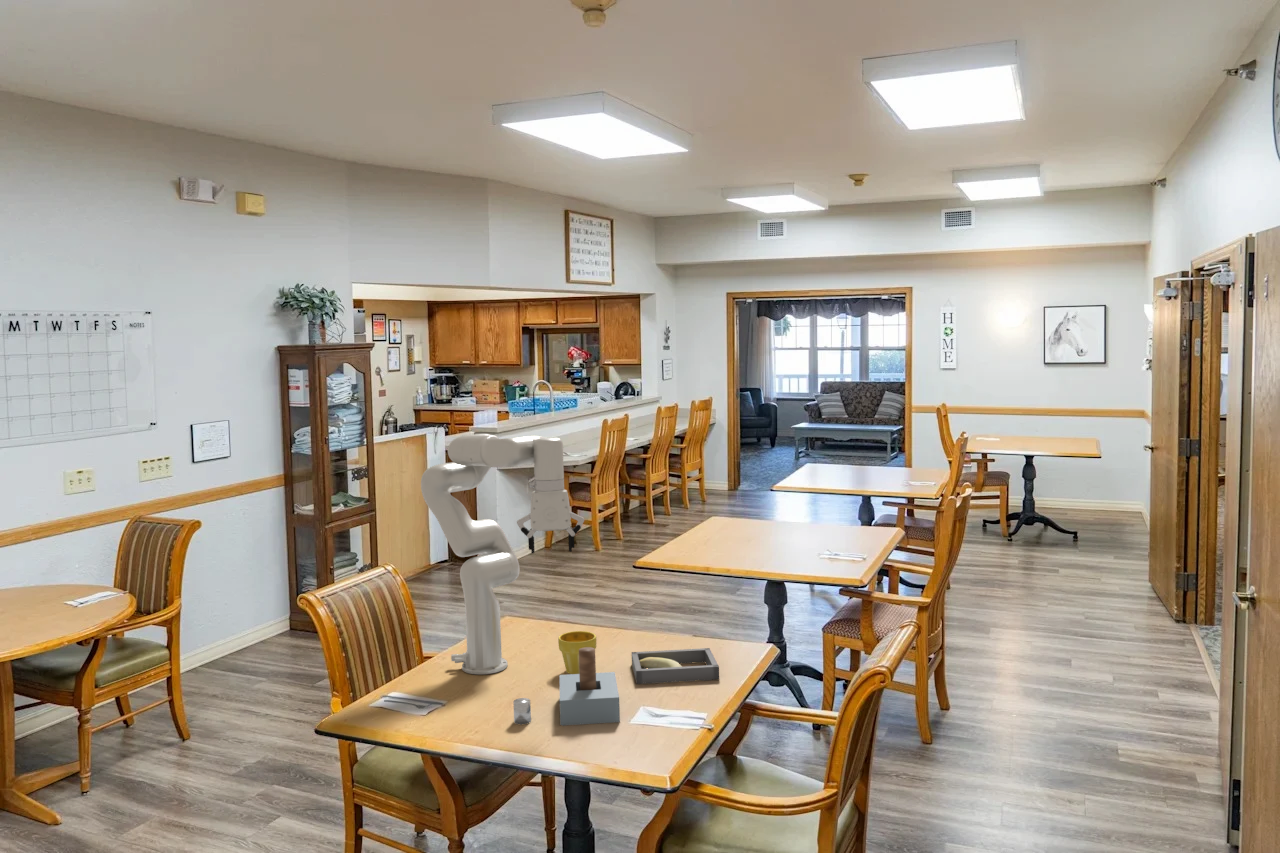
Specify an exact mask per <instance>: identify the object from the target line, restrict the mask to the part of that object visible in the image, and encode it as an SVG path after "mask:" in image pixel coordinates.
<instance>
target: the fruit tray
mask: <svg viewBox="0 0 1280 853" xmlns="http://www.w3.org/2000/svg"><path fill="white" fill-rule="evenodd" d="M647 657H659V658H666V659H671V660H674V661H676V662H678V663H682V664H693V663H692V662H700V663H705V662H706V663H705V664H707V665H693V666H691V665H687V666H682V667H668V668H650V669H646V668H642V667H641V666H640V662H639V660H641V659H644V658H647ZM631 667H632V670H633V671H632V672H633V674H634V680H635V683H636V685H646V684H647V683H648V684H665V683H664V682H666V683H680V682H679V681H684V682H696V681H695V680H702V681H716V680H715V679H719V680H720V666H719V664H718V662H717V660H716V658H715V656H714V654H713V653H712V650H711V648H710V647H707V648H705V647H704V648H684V649H668V650H650V651H631ZM712 679H713V680H712ZM648 684H647V685H648Z"/></svg>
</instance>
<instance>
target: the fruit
mask: <svg viewBox="0 0 1280 853" xmlns="http://www.w3.org/2000/svg"><path fill="white" fill-rule="evenodd" d="M639 662H640V666H641V668H642V669H646V668H648V669H650V668H668V667H683V666H682V665H681V664H679V663H678V662H676V661H674V660H671V659H666V658H659V657H647V658H644V659H641V660H639Z"/></svg>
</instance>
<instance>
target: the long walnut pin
mask: <svg viewBox="0 0 1280 853" xmlns="http://www.w3.org/2000/svg"><path fill="white" fill-rule="evenodd" d="M596 664H597V662H596V649H594V648H591V647H584V648H581V649H579V675H580V691H581V690H596V673H597V672H596V671H597V669H596V668H597V667H596V666H597V665H596Z"/></svg>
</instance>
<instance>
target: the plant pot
mask: <svg viewBox="0 0 1280 853" xmlns="http://www.w3.org/2000/svg"><path fill="white" fill-rule="evenodd" d="M584 647H591V648H594V649H595V650H596V649H597V635H596V634H595V633H594V632H591V631H586V630H573V631H567V632H565V633H562V634H560V635H559V636H558V649H559V651H560V653H561V655H562V656H561V657H562V659H563V664H564V668H565V671H566V673H567V674H579V649H581V648H584Z"/></svg>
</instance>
